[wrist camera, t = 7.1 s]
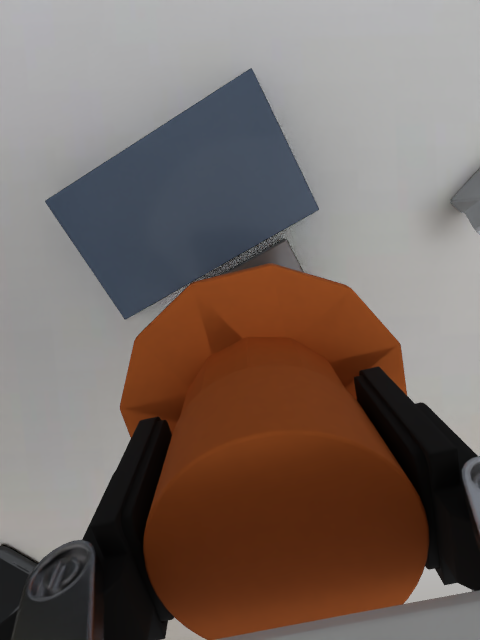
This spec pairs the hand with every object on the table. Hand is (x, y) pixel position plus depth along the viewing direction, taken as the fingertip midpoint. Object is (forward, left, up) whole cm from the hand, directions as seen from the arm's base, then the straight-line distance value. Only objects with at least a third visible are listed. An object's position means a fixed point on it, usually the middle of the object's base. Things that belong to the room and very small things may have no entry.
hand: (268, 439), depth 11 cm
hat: (0, 0, -2) cm, 2 cm away
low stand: (-1, +9, -25) cm, 27 cm away
